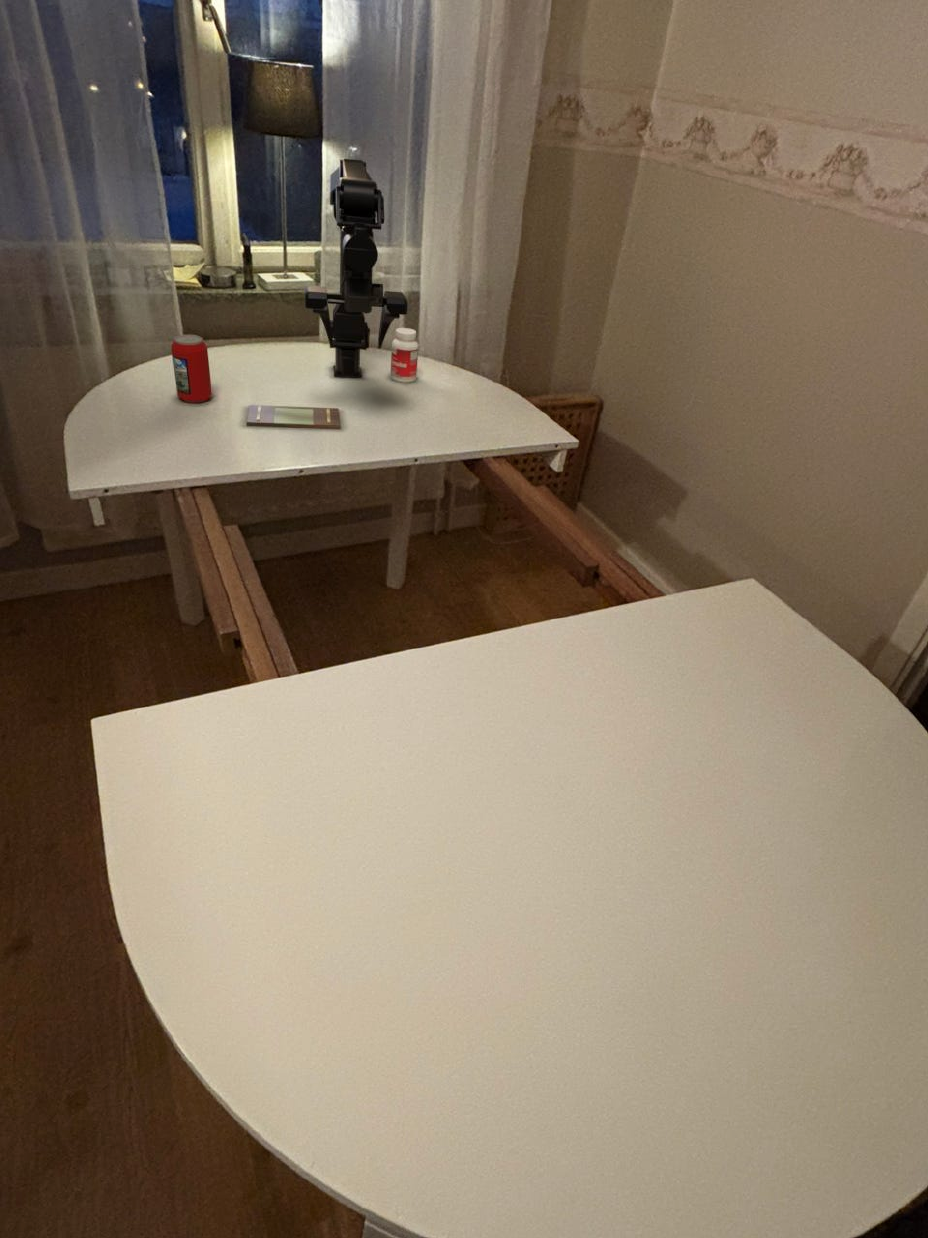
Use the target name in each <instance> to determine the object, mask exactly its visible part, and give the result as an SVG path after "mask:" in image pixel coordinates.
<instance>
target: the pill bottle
mask: <svg viewBox="0 0 928 1238" xmlns="http://www.w3.org/2000/svg"><path fill="white" fill-rule="evenodd" d="M395 337H396V338H394V339H393V340H392V342H391V355H390V357H391V358H390V374H389V376H390V378H391V379H392V380H393V381H396V382H399V383H403V384H404V383H406V384H407V383H412V382H415V381H416V380H417V376H418V375H417V372H418V361H419V360H418V359H419V348H420V347H419V342H417V340H416V339H417V331H416V330H415V329H413V328H408V327H398V328H396V329H395Z"/></svg>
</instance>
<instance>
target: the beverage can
mask: <svg viewBox="0 0 928 1238" xmlns="http://www.w3.org/2000/svg"><path fill="white" fill-rule="evenodd" d="M170 350H171V356H172V365H173V373H174V381H175V387H176V388H175V389H176V395H177V396H178V398H179V399H182V401H184V402H187V403H194V404H195V403H203V402H205V401H207V400H208V399H210V398H211V397H212V393H213V392H212V382H211V381H212V380H211V371H210V361H209V352H208V346H207V344H206V343H205V341H204V339H203V337H202V336H199V335H197V334H178V335H176V336H174V337H173V341H172V344H171V346H170Z"/></svg>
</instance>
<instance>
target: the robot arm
mask: <svg viewBox="0 0 928 1238" xmlns="http://www.w3.org/2000/svg"><path fill="white" fill-rule="evenodd" d="M329 206H332V212H333V213H332V214H333V217H334V220H335V222H336V227H339V233H340V235H339V237H340V238H339V245H340V246H339V292H328V288H327V286H320V285H319V286H318V285H307V286H306V287H305V289H304V303H305V305H304V306H305V309H311V310H312V313H313V314H317V315H318V316H319V318H320V320H321V322H322V324H323V326H324V330H325V333H326V336H327V339H328V343H329V349H335V350H334V351H335V353H334V354H335V355H334V356H335V358H334V362H335V363H334V365H332V371H333V376H334V377H339V378H359V379H361V378H363V371H362V367H361V350H364V351H367V350H368V349H370V338H371V337H370V336H371V328H369V325H368V322H367V321H366V317H365V314H371V313H372V311H373V307H375V308H381V311H380V312H381V314H380V321H379V330H378V335H377V336H378V338H377V349H379V350H381V348H382V346H383V343H384V341H385V337H386V335H387V333H388V331H389V329H390V326H391V324H392V323H393V321H394V320H396V319H397V320H398V319H400V318H401V316H403V315H404V316H406V315H407V314H408V300H407V297H406V295H405V294H404V293H403V291H392V290H391V291H390V290H384V284H383V283H379V282H377V283H376V282H373V275H374V274H373V269H374V267H375V266H376V264H377V261H378V257H379V252H378V248H377V245H376V242H375V238H374V237H375V236H374V235H375V234H374V232H373V231H374V230H379V231H381V230H382V225H384V224H385V198H384V196H383V195H382V190H381V189H378V184H377V182H376V181H375V180H374V179H373V178H372V177H371V176H370V174H369V173H368V171H367V162H366V161H364V160H362V159H355V158H348V157H347V158H345V157H343V158H342V159H339V166H338V167H337V168H336V169H335V170H334V171H333V172H332V173H331V174H330V175H329ZM329 304H330V305H335V306H334V308H333V309H332V319H331V317H330V310H329V309H330V307H329Z"/></svg>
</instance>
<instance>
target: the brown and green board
mask: <svg viewBox="0 0 928 1238" xmlns="http://www.w3.org/2000/svg"><path fill="white" fill-rule="evenodd" d="M245 422H246V426H247V427H269V428H271V427H272V428H273V427H274V428H299V429H300V428H305V429H328V430H329V429H330V430H331V429H332V430H340V429H341V419H340V409H339V408H335V407H309V406H287V405H286V406H285V405H262V404H261V405H259V404H248V410H247V415H246V421H245Z"/></svg>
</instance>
